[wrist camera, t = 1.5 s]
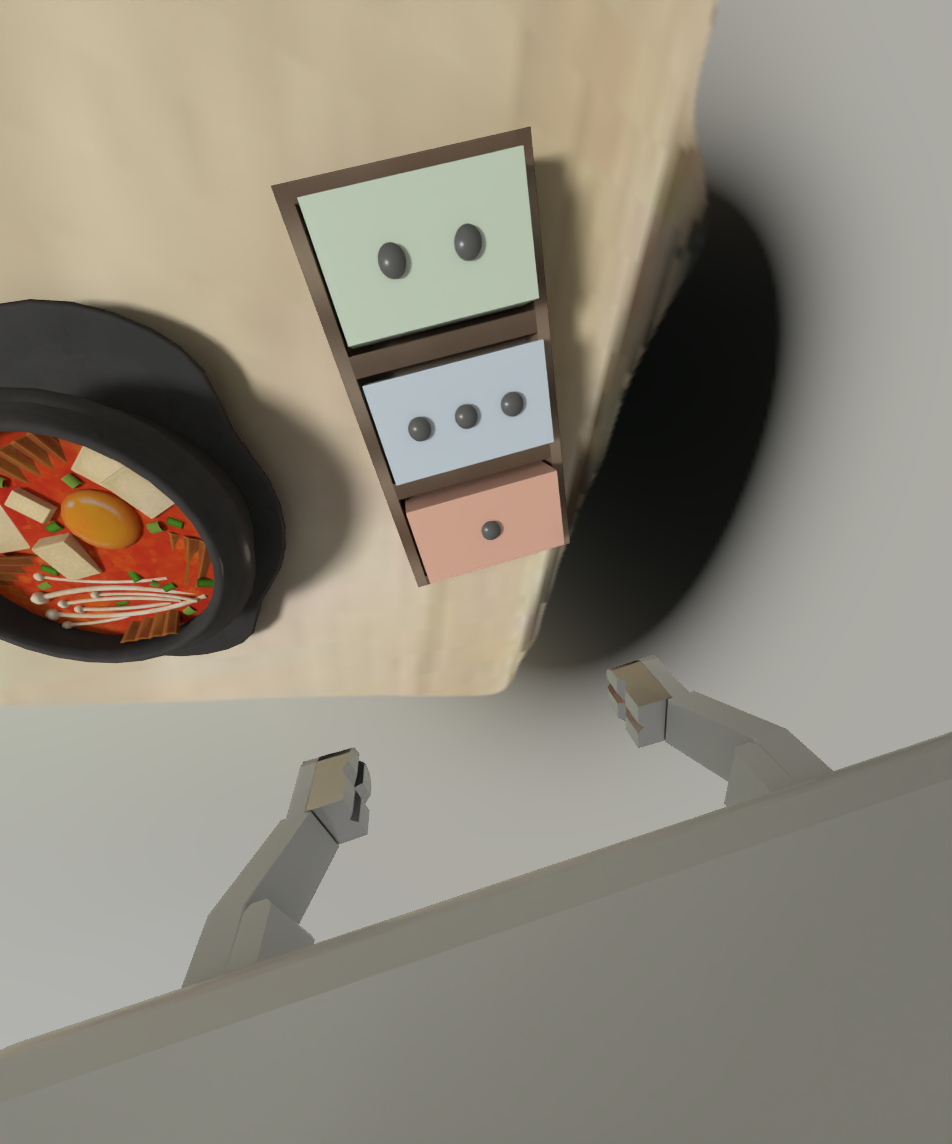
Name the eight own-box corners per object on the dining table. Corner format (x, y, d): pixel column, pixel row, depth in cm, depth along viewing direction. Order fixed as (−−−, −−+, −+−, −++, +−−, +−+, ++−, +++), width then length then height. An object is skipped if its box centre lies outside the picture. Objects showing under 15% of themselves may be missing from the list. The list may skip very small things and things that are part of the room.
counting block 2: (366, 383, 24) (361, 386, 21) (526, 342, 24) (545, 338, 21) (396, 473, 27) (396, 486, 24) (537, 433, 27) (555, 442, 24)
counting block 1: (311, 221, 20) (295, 194, 17) (505, 175, 20) (525, 141, 17) (354, 349, 23) (347, 346, 20) (521, 306, 23) (541, 297, 20)
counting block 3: (404, 498, 28) (405, 514, 25) (540, 460, 28) (558, 471, 25) (427, 564, 31) (430, 585, 28) (549, 528, 32) (565, 545, 29)
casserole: (305, 639, 35) (281, 710, 28) (67, 643, 31) (-32, 728, 24) (271, 334, 23) (216, 320, 16) (-119, 272, 19) (-426, 217, 12)
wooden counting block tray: (288, 211, 21) (270, 185, 18) (511, 159, 22) (530, 126, 19) (416, 567, 33) (418, 587, 30) (554, 527, 34) (569, 542, 31)
